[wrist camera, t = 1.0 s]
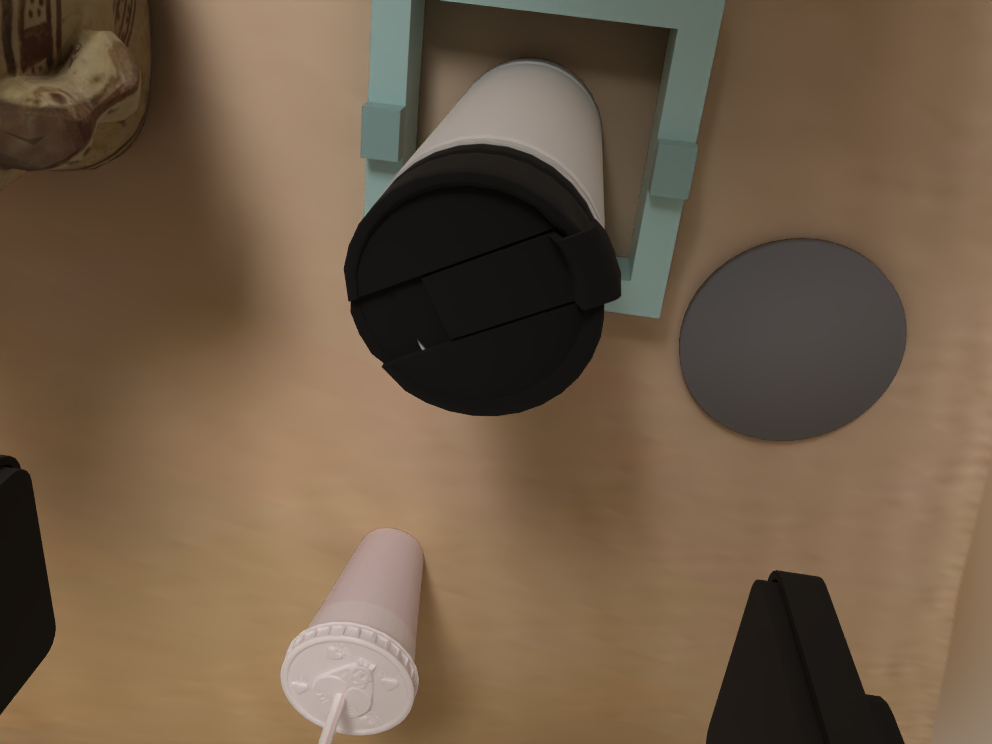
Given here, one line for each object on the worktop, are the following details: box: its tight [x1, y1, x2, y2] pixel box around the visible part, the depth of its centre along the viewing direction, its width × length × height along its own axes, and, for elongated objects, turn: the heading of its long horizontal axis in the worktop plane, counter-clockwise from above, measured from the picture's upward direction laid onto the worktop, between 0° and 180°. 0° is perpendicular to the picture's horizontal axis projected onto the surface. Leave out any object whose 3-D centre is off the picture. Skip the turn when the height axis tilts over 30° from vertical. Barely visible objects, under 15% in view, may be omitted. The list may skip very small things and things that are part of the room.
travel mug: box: [344, 58, 621, 416], centre depth 28 cm, size 6×7×20 cm
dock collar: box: [361, 0, 726, 319], centre depth 35 cm, size 13×13×4 cm
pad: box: [679, 238, 906, 441], centre depth 40 cm, size 10×10×1 cm
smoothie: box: [281, 528, 424, 744], centre depth 42 cm, size 6×6×14 cm
